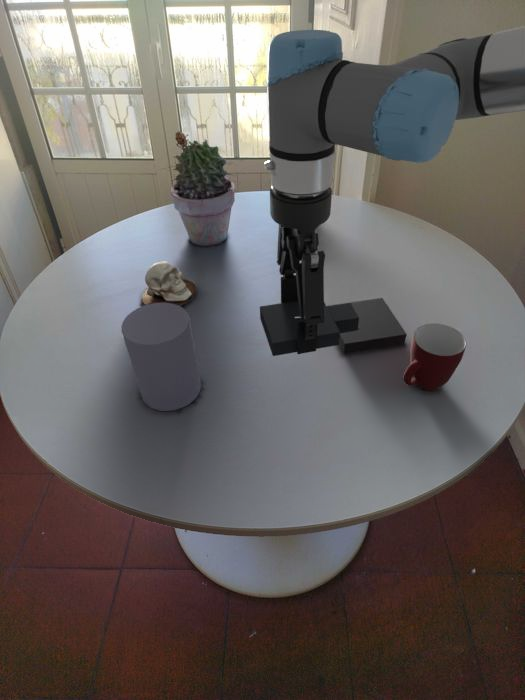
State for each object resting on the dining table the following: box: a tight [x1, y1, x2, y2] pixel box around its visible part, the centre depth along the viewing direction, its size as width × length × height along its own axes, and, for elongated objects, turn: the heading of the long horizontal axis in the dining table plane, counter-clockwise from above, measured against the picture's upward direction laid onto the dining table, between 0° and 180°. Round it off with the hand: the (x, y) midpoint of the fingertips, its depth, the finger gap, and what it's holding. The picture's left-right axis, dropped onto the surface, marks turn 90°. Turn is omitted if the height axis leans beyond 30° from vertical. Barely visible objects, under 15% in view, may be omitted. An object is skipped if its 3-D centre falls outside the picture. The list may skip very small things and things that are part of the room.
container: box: [121, 303, 202, 412], centre depth 77 cm, size 10×10×15 cm
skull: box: [141, 261, 198, 307], centre depth 102 cm, size 12×10×10 cm
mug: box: [402, 323, 467, 392], centre depth 77 cm, size 10×8×10 cm
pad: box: [259, 301, 359, 357], centre depth 71 cm, size 9×14×2 cm, turn 102°
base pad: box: [328, 297, 407, 355], centre depth 91 cm, size 12×12×2 cm
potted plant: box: [159, 130, 240, 247], centre depth 114 cm, size 18×20×25 cm
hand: (297, 330), depth 71 cm, fingers closed on pad, 9 cm apart
